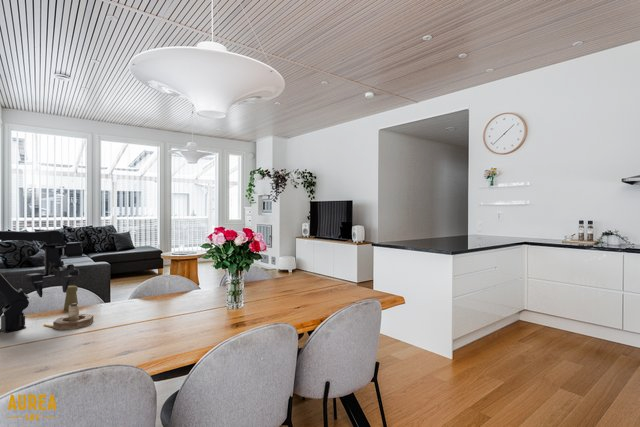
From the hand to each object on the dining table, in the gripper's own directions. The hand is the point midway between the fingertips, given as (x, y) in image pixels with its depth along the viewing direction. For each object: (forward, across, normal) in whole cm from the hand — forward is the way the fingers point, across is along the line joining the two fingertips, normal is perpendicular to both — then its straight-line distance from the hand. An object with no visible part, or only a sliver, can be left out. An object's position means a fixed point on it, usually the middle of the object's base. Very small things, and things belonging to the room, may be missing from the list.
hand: (52, 294), depth 148 cm
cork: (+12, +18, +17) cm, 28 cm away
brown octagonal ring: (+12, +2, -11) cm, 16 cm away
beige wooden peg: (+12, +2, -11) cm, 16 cm away
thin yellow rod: (+12, -4, -5) cm, 14 cm away
